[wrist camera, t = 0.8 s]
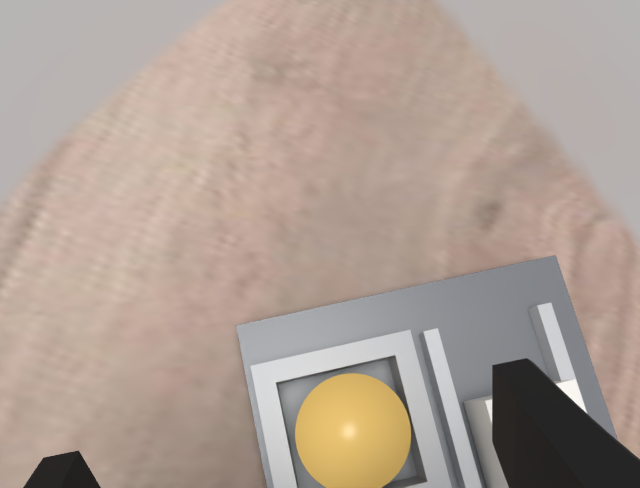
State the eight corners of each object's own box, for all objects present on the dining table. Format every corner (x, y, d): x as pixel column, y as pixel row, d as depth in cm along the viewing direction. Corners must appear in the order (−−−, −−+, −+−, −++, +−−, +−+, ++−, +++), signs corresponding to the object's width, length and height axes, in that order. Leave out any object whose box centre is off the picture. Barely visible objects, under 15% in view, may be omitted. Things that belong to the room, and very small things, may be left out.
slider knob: (575, 485, 23) (623, 498, 20) (492, 506, 23) (525, 523, 20) (543, 382, 24) (583, 378, 21) (463, 401, 24) (490, 400, 21)
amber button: (413, 473, 22) (424, 479, 20) (308, 499, 22) (308, 507, 20) (387, 365, 23) (394, 362, 21) (285, 389, 23) (284, 387, 21)
